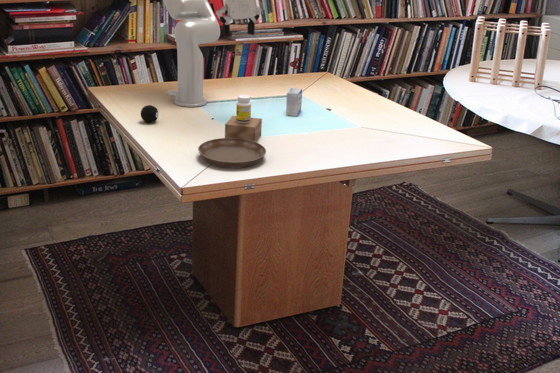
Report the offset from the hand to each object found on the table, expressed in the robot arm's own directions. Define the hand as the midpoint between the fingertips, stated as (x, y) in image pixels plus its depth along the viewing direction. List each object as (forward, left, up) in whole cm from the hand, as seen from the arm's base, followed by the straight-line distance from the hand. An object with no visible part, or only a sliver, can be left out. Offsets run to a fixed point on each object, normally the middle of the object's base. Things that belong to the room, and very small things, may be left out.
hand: (238, 35), depth 242 cm
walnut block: (+7, -19, -30) cm, 36 cm away
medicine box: (+18, +16, -31) cm, 39 cm away
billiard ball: (-28, -12, -31) cm, 43 cm away
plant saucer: (+8, -38, -31) cm, 50 cm away
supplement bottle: (+7, -19, -24) cm, 32 cm away
